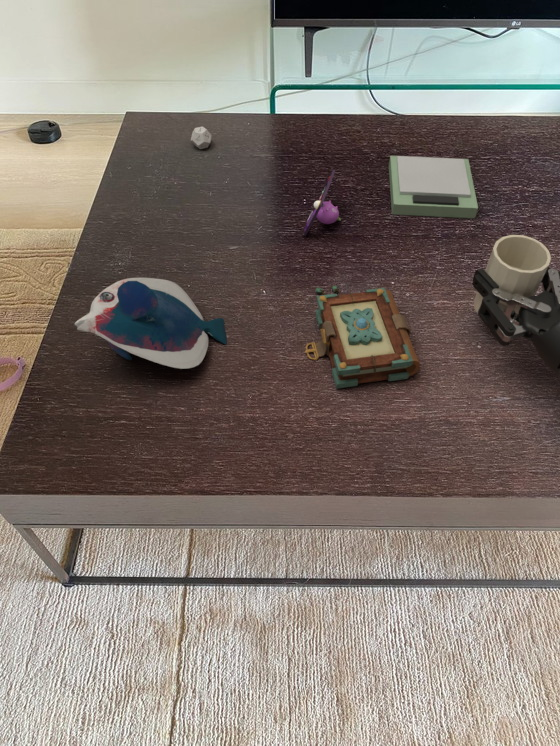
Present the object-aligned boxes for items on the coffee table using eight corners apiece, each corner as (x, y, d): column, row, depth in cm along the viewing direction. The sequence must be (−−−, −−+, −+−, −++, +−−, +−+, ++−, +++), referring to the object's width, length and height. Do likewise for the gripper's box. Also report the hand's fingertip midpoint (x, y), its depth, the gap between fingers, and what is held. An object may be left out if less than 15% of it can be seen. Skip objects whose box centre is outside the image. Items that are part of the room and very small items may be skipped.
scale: (465, 169, 105) (469, 155, 103) (475, 218, 97) (479, 204, 95) (388, 165, 105) (390, 152, 103) (391, 214, 98) (394, 200, 96)
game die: (214, 141, 110) (213, 125, 107) (208, 152, 107) (206, 137, 105) (195, 138, 110) (193, 122, 108) (189, 150, 108) (187, 134, 106)
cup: (519, 294, 83) (545, 236, 75) (527, 331, 79) (555, 273, 71) (470, 291, 84) (490, 233, 76) (475, 328, 80) (497, 271, 72)
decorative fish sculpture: (88, 315, 65) (88, 221, 74) (61, 384, 73) (64, 293, 82) (254, 346, 74) (237, 260, 83) (214, 404, 82) (202, 320, 91)
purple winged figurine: (329, 166, 94) (314, 202, 89) (359, 181, 94) (347, 218, 89) (312, 198, 99) (298, 234, 94) (341, 213, 100) (329, 249, 95)
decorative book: (381, 282, 88) (386, 255, 84) (419, 379, 78) (427, 354, 74) (289, 293, 87) (290, 266, 83) (315, 394, 76) (317, 369, 72)
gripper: (656, 318, 68) (557, 227, 77) (550, 360, 64) (459, 259, 73) (626, 360, 74) (536, 271, 83) (527, 401, 70) (445, 303, 79)
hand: (500, 266), depth 78 cm, fingers closed on cup, 6 cm apart
